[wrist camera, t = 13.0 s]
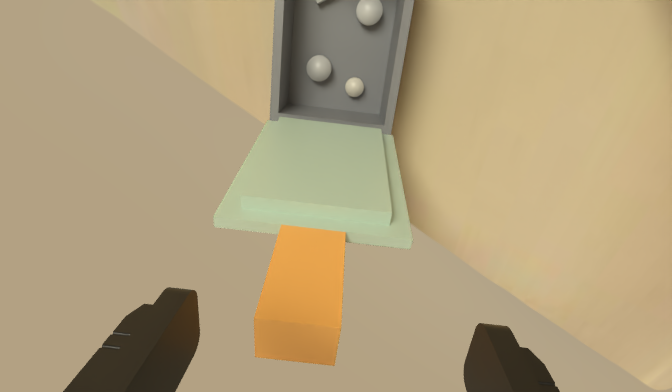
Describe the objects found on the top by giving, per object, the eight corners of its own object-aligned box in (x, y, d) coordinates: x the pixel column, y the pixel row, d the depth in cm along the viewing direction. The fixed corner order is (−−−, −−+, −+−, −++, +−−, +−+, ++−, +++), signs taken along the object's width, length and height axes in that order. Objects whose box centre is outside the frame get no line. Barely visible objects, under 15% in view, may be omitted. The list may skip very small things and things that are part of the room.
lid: (437, 324, 16) (417, 375, 18) (394, 125, 35) (387, 162, 38) (158, 292, 16) (171, 347, 18) (267, 110, 35) (267, 147, 38)
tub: (410, -39, 36) (424, -57, 30) (384, 120, 43) (390, 134, 36) (290, -55, 36) (278, -76, 30) (281, 108, 42) (269, 120, 36)
